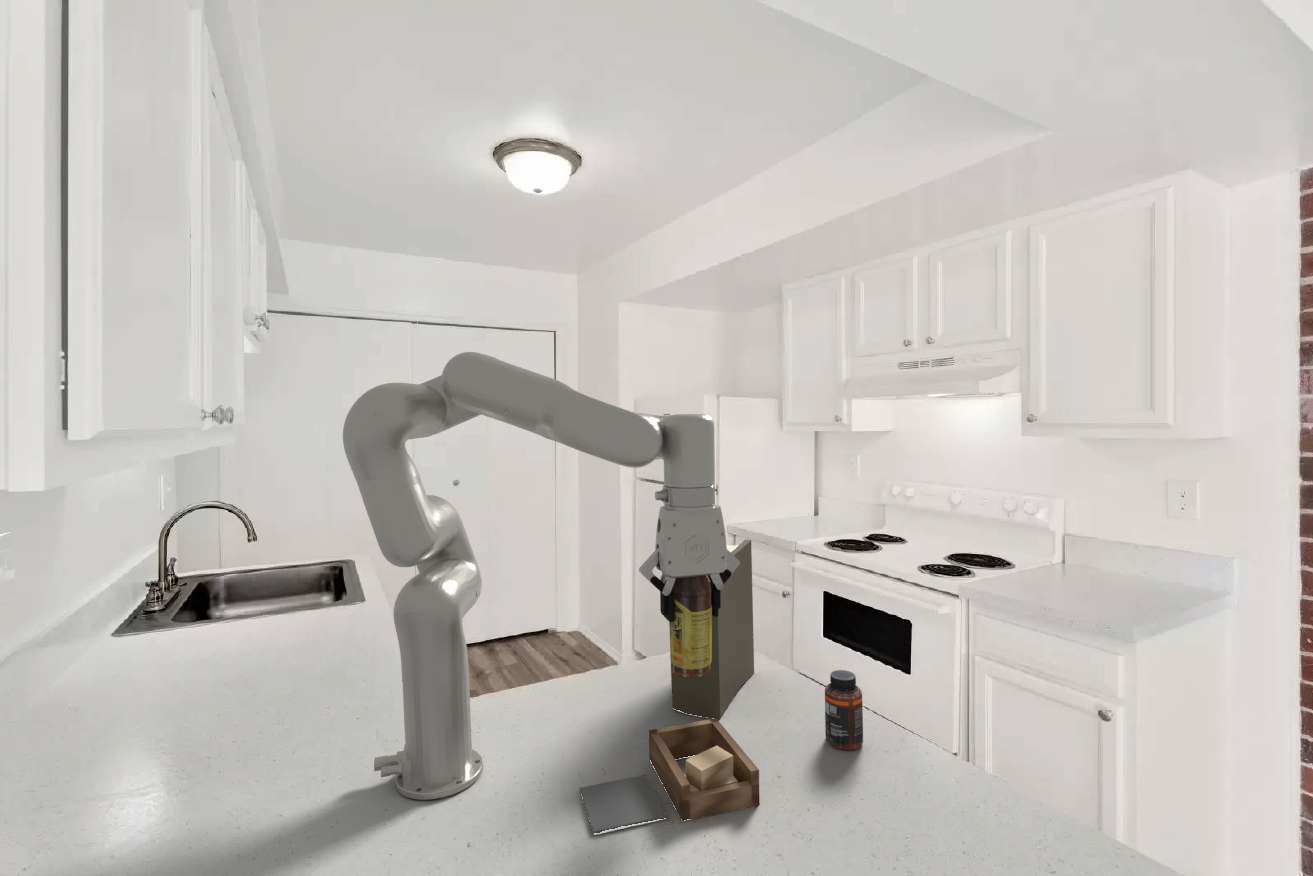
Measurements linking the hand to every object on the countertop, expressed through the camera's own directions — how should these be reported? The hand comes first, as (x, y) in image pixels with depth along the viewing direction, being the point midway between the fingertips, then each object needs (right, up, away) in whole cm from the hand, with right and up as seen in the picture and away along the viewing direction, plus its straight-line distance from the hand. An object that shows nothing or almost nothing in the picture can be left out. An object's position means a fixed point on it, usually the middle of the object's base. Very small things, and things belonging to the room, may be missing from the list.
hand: (690, 615), depth 95 cm
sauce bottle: (0, -9, 0) cm, 9 cm away
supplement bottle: (+26, -23, +9) cm, 36 cm away
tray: (+2, -24, -1) cm, 24 cm away
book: (+6, -23, +28) cm, 37 cm away
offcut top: (+2, -22, -5) cm, 22 cm away
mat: (-10, -25, -6) cm, 27 cm away
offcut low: (+2, -25, -5) cm, 25 cm away
